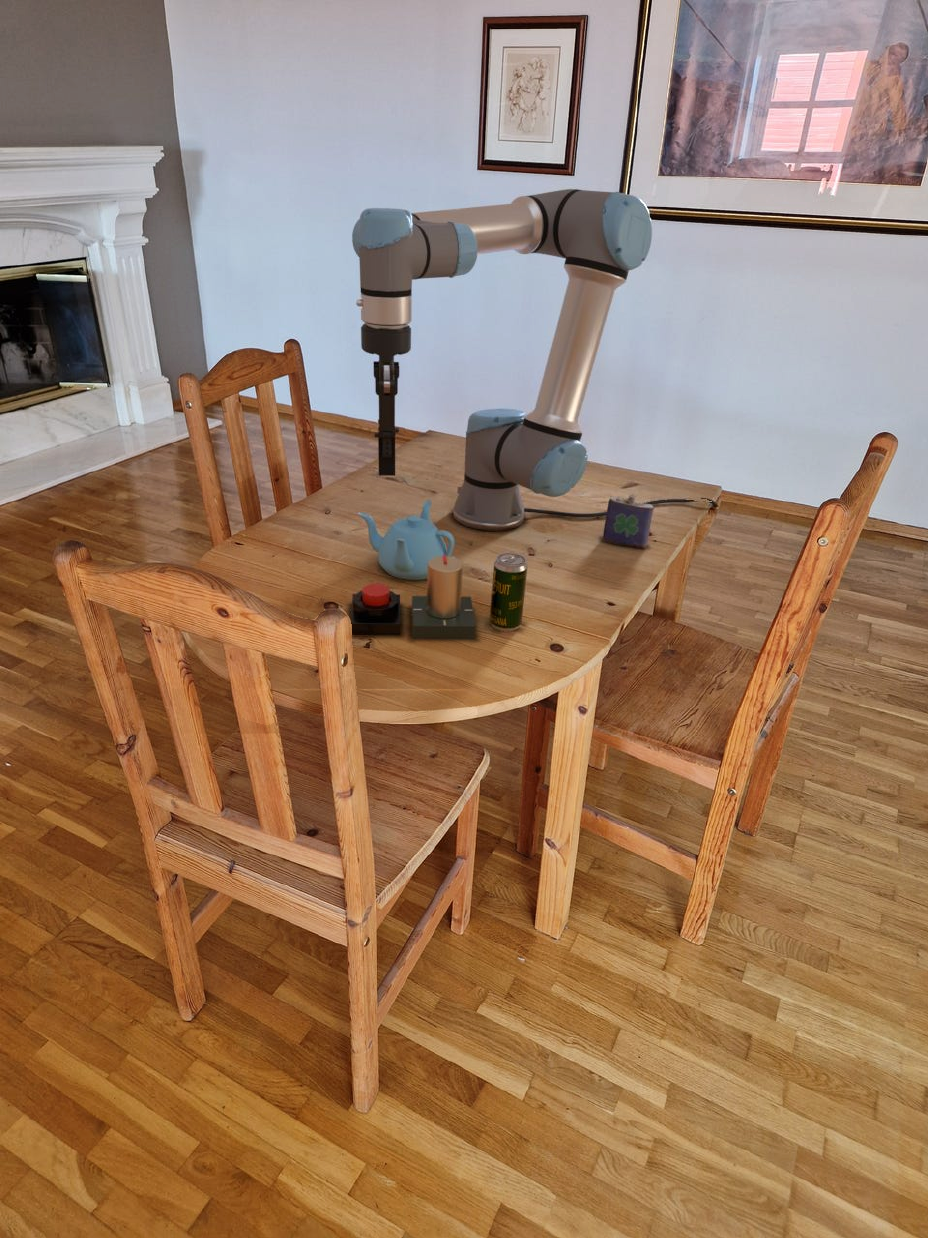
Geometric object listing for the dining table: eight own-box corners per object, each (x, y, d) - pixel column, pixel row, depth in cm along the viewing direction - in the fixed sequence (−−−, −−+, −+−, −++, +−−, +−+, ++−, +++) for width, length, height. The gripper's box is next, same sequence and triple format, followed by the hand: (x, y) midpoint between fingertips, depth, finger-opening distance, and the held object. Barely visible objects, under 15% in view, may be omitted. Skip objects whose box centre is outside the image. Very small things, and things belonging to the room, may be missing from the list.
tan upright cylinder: (461, 618, 131) (464, 570, 126) (426, 618, 130) (428, 569, 126) (458, 602, 136) (461, 554, 131) (425, 601, 135) (427, 553, 131)
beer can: (502, 613, 139) (508, 549, 133) (527, 624, 136) (534, 559, 130) (482, 624, 135) (487, 558, 129) (508, 636, 132) (514, 569, 126)
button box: (399, 605, 139) (400, 584, 137) (400, 635, 130) (400, 614, 128) (352, 605, 138) (352, 584, 136) (350, 635, 129) (349, 613, 127)
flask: (647, 545, 167) (656, 496, 162) (645, 550, 165) (653, 500, 159) (603, 536, 170) (611, 487, 165) (600, 541, 168) (608, 492, 162)
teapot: (465, 577, 150) (469, 525, 145) (392, 593, 143) (393, 539, 137) (427, 546, 160) (429, 498, 155) (358, 560, 153) (357, 509, 148)
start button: (389, 594, 134) (389, 583, 133) (389, 607, 131) (389, 596, 130) (362, 594, 134) (362, 583, 133) (361, 607, 130) (361, 595, 129)
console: (469, 609, 139) (470, 595, 138) (475, 639, 130) (476, 625, 129) (411, 608, 138) (412, 594, 137) (412, 639, 129) (413, 624, 128)
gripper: (361, 315, 127) (364, 460, 139) (360, 332, 115) (363, 488, 127) (409, 316, 127) (408, 460, 139) (412, 333, 116) (411, 488, 128)
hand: (386, 473), depth 133 cm, fingers closed
